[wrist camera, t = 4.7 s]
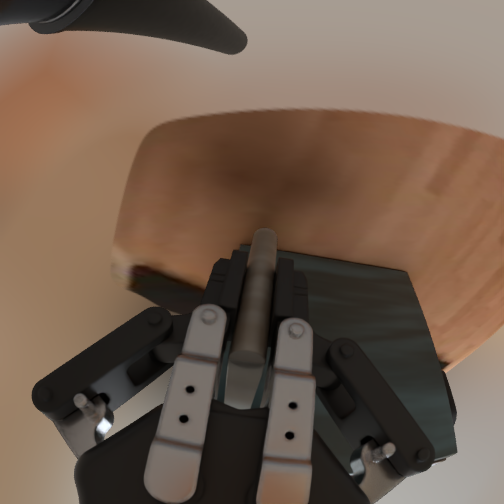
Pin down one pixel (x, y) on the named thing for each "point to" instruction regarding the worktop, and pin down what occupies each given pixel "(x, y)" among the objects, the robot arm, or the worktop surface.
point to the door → (341, 326)
